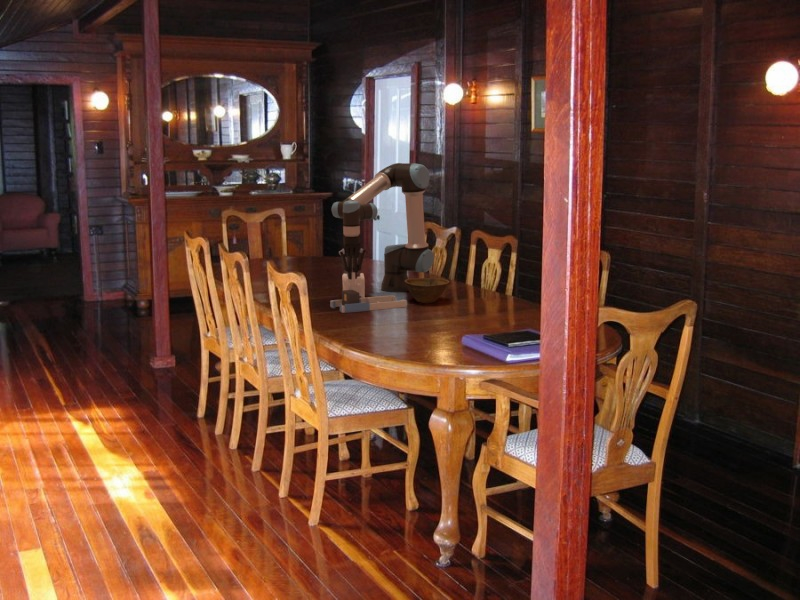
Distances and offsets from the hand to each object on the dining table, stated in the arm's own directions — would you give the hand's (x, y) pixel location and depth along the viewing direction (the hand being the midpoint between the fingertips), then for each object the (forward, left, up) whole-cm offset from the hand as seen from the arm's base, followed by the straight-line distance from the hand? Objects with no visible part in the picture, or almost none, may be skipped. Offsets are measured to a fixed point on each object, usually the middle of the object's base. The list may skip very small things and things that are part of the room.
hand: (352, 286), depth 424 cm
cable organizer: (-9, -22, -11) cm, 26 cm away
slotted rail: (-7, +1, -10) cm, 13 cm away
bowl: (-38, 0, -10) cm, 40 cm away
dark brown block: (+2, +1, -10) cm, 10 cm away
